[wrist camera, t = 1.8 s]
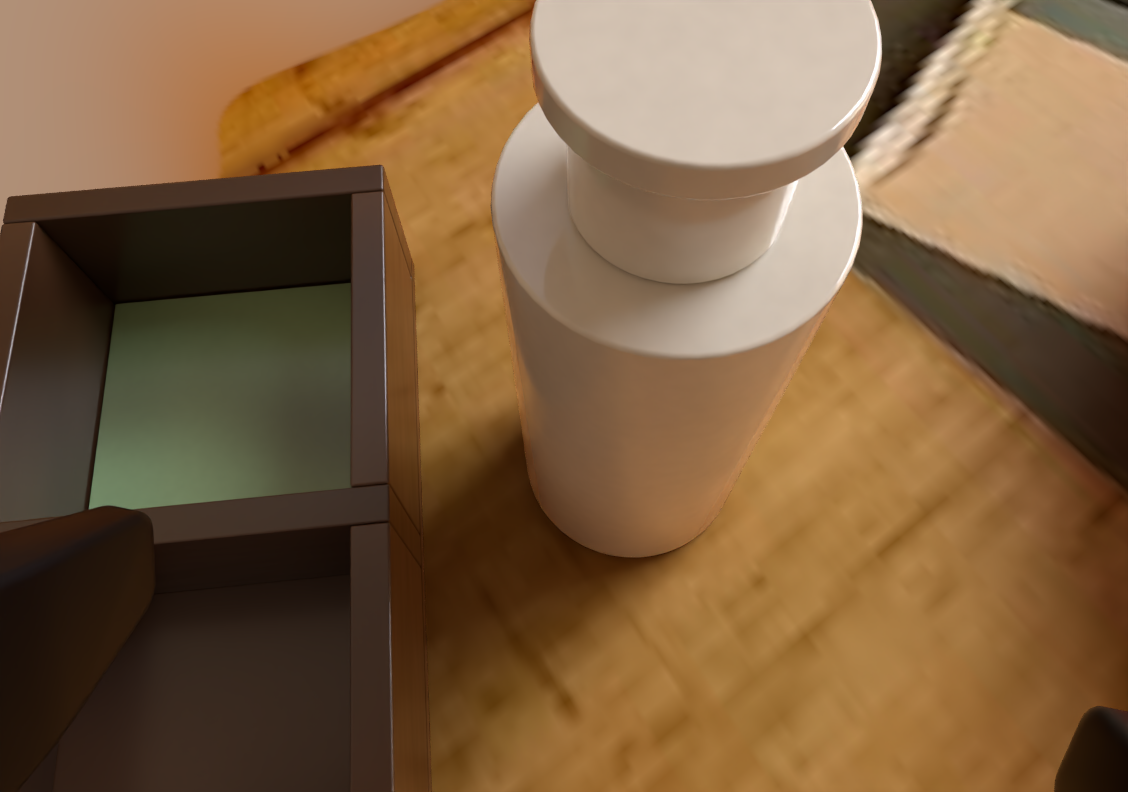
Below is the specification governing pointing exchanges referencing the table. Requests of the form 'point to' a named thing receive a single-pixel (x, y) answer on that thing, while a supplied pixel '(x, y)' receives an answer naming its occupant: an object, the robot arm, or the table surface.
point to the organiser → (231, 472)
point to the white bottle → (672, 244)
